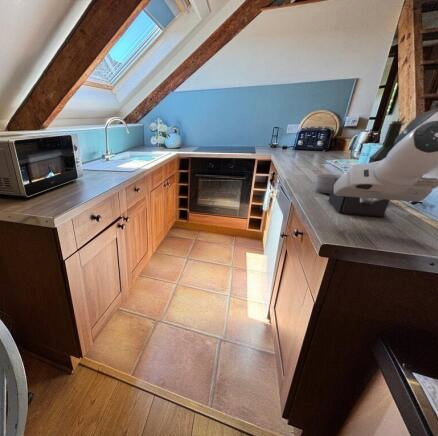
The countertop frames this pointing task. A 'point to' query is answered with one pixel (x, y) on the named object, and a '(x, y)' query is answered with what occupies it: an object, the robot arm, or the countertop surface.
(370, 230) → the countertop surface
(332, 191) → the dark grey drawer box
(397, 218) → the countertop surface
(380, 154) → the wine bottle
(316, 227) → the countertop surface
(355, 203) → the drawer
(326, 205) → the countertop surface
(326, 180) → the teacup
